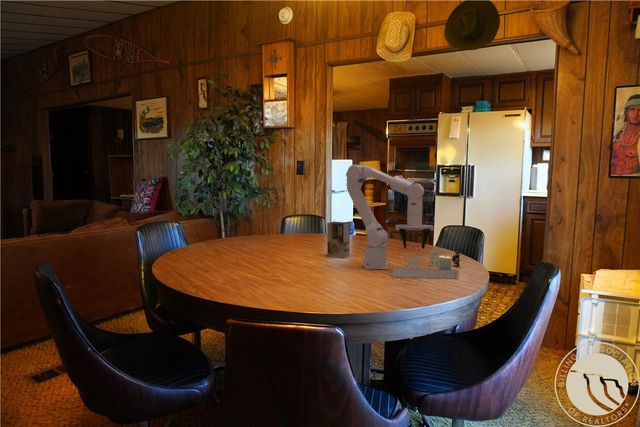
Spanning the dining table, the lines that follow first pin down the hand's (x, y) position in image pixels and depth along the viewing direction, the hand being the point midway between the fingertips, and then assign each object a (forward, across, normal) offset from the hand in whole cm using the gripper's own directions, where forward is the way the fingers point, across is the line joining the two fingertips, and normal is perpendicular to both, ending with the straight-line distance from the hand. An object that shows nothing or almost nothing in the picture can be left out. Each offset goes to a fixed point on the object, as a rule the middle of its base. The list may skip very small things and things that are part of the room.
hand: (413, 248), depth 170 cm
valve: (+10, +14, +11) cm, 21 cm away
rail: (+9, +3, -7) cm, 12 cm away
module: (+9, 0, -1) cm, 9 cm away
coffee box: (+10, -31, +28) cm, 43 cm away
